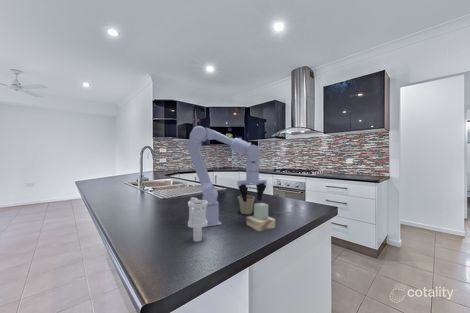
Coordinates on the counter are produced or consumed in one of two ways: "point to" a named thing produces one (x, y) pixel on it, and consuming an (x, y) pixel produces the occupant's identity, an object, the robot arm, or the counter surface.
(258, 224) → the beech base
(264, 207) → the sage block
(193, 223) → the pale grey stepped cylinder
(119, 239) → the counter surface
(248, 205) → the flower pot
